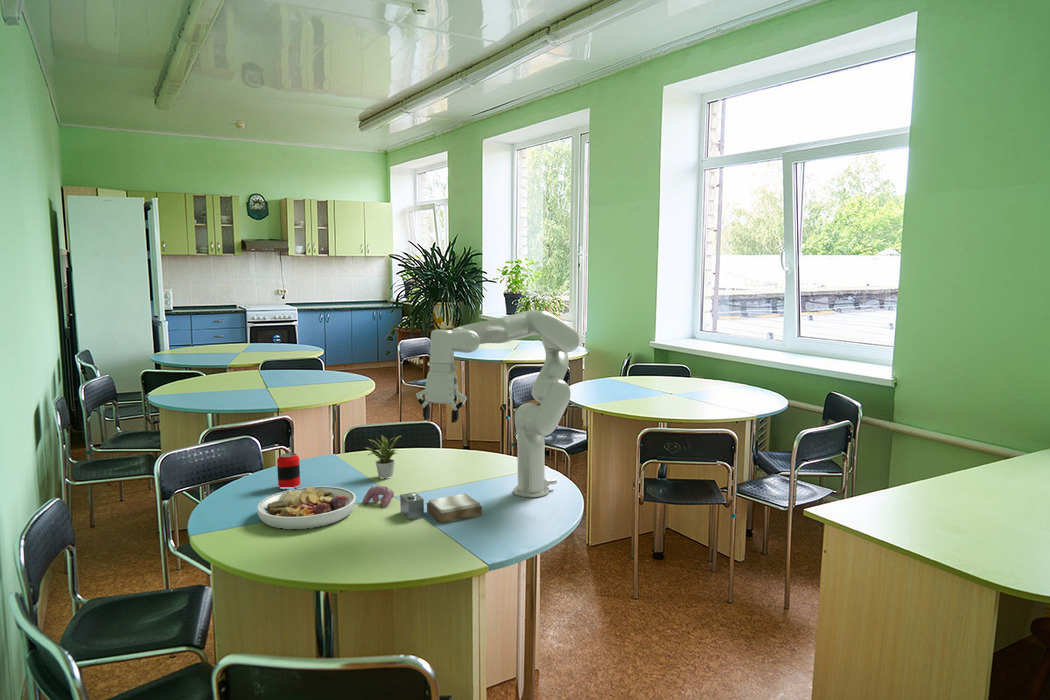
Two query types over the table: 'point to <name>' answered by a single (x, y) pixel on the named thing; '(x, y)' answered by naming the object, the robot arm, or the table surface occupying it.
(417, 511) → the block
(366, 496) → the video game controller
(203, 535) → the table surface
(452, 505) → the stand
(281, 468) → the soda can
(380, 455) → the house plant
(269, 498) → the bowl
